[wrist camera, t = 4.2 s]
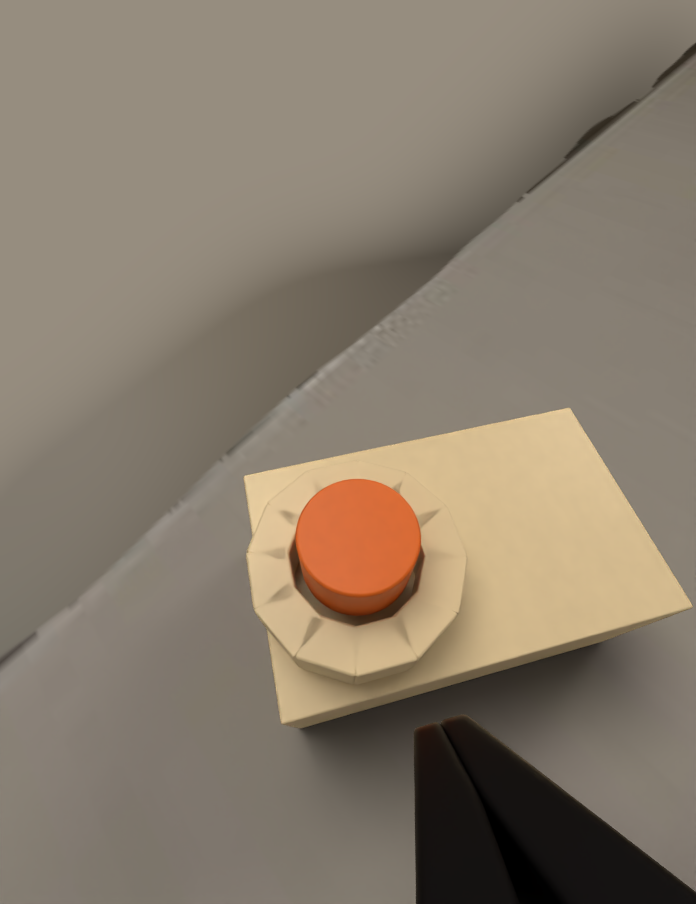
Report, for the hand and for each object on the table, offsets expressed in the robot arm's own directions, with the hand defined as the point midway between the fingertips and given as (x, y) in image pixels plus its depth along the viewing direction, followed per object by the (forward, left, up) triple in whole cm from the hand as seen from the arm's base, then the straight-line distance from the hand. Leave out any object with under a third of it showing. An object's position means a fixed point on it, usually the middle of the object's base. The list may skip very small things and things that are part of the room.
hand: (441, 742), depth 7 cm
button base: (+6, 0, -12) cm, 14 cm away
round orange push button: (+4, +3, -5) cm, 7 cm away
